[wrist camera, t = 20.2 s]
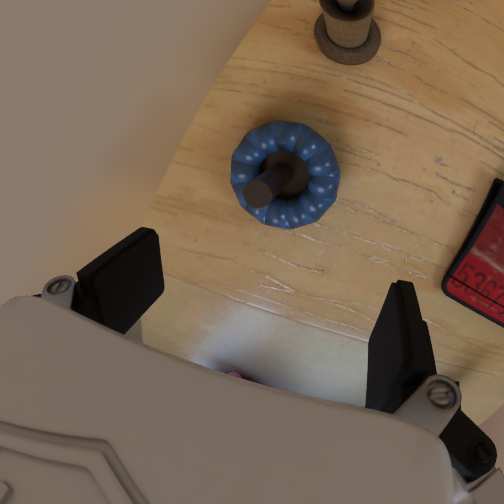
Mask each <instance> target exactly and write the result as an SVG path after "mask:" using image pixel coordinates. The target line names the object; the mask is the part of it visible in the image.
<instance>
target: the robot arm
mask: <svg viewBox="0 0 504 504" xmlns="http://www.w3.org/2000/svg"><path fill="white" fill-rule="evenodd" d="M77 277H78V280H79V281H78V282H75V280H74V278H73V277H71V276H68V275H63V276H58V277H56V278H53V279H51V280H50V281H48V283H46V285H45V287H44V288H43V291H42V294H38V295H33V296H18V297H14V298H12V299H10V300H9V301H7V302H6V303H4V304H3V305H1V306H0V504H504V475H503V473H502V471H501V469H500V467H499V468H498V469H496V468H495V466H494V465H495V462H496V458H497V451H496V447H495V445H494V443H493V442H492V440H491V439H490V438H489V437H488V436H487V435H486V434H485V433H484V432H483V431H482V430H481V429H480V428H479V427H478V426H477V425H476V424H475V423H474V422H473V421H472V420H471V419H469V418H468V417H467V416H466V415H465V414H464V413H463V412H462V411H461V410H460V409H459V406H460V404H461V400H462V395H461V391H460V389H459V387H458V385H457V384H456V383H455V382H454V381H453V380H452V379H451V378H449V377H447V376H444V375H437V371H436V365H435V360H434V354H433V349H432V344H431V340H430V335H429V330H428V326H427V323H426V322H425V321H423V320H422V316H421V312H420V308H419V304H418V300H417V296H416V292H415V288H414V285H413V283H412V282H408V281H403V280H397V282H396V283H392V284H391V286H390V288H389V291H388V294H387V296H386V299H385V302H384V304H383V307H382V309H381V312H380V314H379V317H378V319H377V322H376V324H375V326H374V329H373V331H372V333H371V336H370V339H369V343H368V372H367V391H366V404H365V408H363V407H358V406H354V405H349V404H344V403H338V402H333V401H329V400H324V399H319V398H315V397H311V396H306V395H302V394H298V393H294V392H289V391H285V390H281V389H277V388H273V387H270V386H266V385H262V384H259V383H255V382H252V381H248V380H245V379H242V378H238V377H235V376H232V375H229V374H225V373H222V372H219V371H216V370H213V369H210V368H207V367H204V366H201V365H198V364H196V363H193V362H190V361H187V360H185V359H182V358H179V357H176V356H174V355H171V354H169V353H166V352H163V351H161V350H158V349H156V348H154V347H151V346H149V345H146V344H144V343H141V342H139V341H137V340H134V339H132V338H129V337H127V336H125V335H124V334H125V333H126V332H127V331H128V330H129V329H130V328H131V326H133V324H135V322H136V321H137V320H138V319H139V318H140V317H141V316H142V315H143V314H144V313H145V312H146V311H147V309H148V308H149V307H150V306H151V305H152V304H153V303H154V302H155V301H156V300H157V299H158V298H159V297H160V296H161V294H162V293H163V291H164V278H163V271H162V263H161V254H160V245H159V237H158V234H157V233H156V232H155V230H154V229H150V228H145V227H141V228H139V229H137V230H136V231H135V232H133V233H131V234H130V235H129V236H127V237H126V238H124V239H123V240H121V241H120V242H118V243H117V244H115V245H114V246H113V247H111V248H110V249H108V250H107V251H106V252H104V253H103V254H102V255H100V256H98V257H97V258H96V259H94V260H93V261H92V262H90V263H89V264H87V265H86V266H85V267H83V268H82V269H81V270H79V271H78V272H77Z"/></svg>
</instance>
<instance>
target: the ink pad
mask: <svg viewBox="0 0 504 504" xmlns="http://www.w3.org/2000/svg"><path fill="white" fill-rule="evenodd" d="M441 287H442V291H443V292H444V294H445V295H446V296H448V297H450V298H451V299H453V300H455V301H457V302H458V303H460V304H462V305H463V306H465V307H467V308H469V309H471V310H472V311H474V312H476V313H478V314H480V315H481V316H483V317H485V318H487V319H489V320H491V321H492V322H494V323H496V324H498V325H500V326H501V327H503V328H504V181H502V180H500V179H498V178H496V179H495V180H494V183H493V185H492V187H491V189H490V192H489V194H488V196H487V199H486V201H485V203H484V206H483V208H482V210H481V212H480V214H479V216H478V218H477V220H476V222H475V224H474V226H473V228H472V230H471V232H470V233H469V235H468V237H467V239H466V241H465V243H464V244H463V246H462V248H461V250H460V252H459V253H458V255H457V257H456V258H455V260H454V262H453V264H452V265H451V267H450V269H449V271H448V272H447V274H446V275H445V277H444V279H443V281H442V284H441Z"/></svg>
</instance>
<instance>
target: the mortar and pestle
mask: <svg viewBox="0 0 504 504" xmlns="http://www.w3.org/2000/svg"><path fill="white" fill-rule="evenodd" d="M319 3H320V6H321V9H322V12H323V13H322V14H321V15H320V16H319V18H318V19H317V21H316V23H315V27H314V35H315V39H316V42H317V45H318V47H319V48H320V50H321V51H322V52H323V54H324V55H326V56H327V57H328V58H329V59H331V60H333V61H335V62H337V63H341V64H345V65H358V64H362V63H365V62H367V61H369V60H370V59H372V58H373V57H374V55H375V54H376V53H377V51H378V48H379V46H380V42H381V34H380V30H379V27H378V25H377V24H376V22H375V21H374V20H373V19H372V15H373V11H374V0H319Z"/></svg>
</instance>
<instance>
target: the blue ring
mask: <svg viewBox="0 0 504 504" xmlns="http://www.w3.org/2000/svg"><path fill="white" fill-rule="evenodd" d="M278 150H283V151H290V152H294V153H295V154H296V155H298V156H299V157H300V158H301V159H303V160H304V161H305V163H306V166H307V168H308V171H309V173H310V176H309V183H308V188H307V189H306V190H305V191H304V192H303V193H302V195H301V196H300V197H297V198H294V199H291V200H283V199H278V198H274V199H273V200H272V202H271V203H270V204H269V205H268V206H267V207H265V208H263V209H254V208H252V207H250V206H249V205H248V204H247V203H246V202H245V200H244V198H243V188H244V186H245V185H246V184H247V183H248V182H249V181H251V180H252V179H254V178H255V177H256V176H258V175H259V173H260V164H261V163H262V162H263V160H264V159H265V158H266V156H267V155H268V154H271V153H273V152H275V151H278ZM339 180H340V168H339V165H338V163H337V160H336V157H335V155H334V152H333V150H332V147H331V145H330V144H329V142H328V141H327V140H325V139H324V138H323V137H322V136H320V135H319V134H318V133H317V132H315V131H314V130H313V129H311V128H310V127H309V126H307V125H305V124H302V123H296V122H289V121H281V120H274V121H271V122H268V123H266V124H264V125H261V126H259V127H257V128H255V129H253V130H251V131H249V132H248V133H247V134H246V135H245V136H244V138H243V139H242V141H241V142H240V144H239V145H238V147H237V148H236V150H235V151H234V153H233V155H232V160H231V176H230V182H231V185H232V187H233V190H234V192H235V194H236V196H237V198H238V201H239V203H240V205H241V206H242V208H243V209H245V210H246V211H247V212H248V213H250V214H251V215H252V216H253V217H255V218H256V219H257V220H258V221H260V222H261V223H262V224H265V225H269V226H274V227H279V228H283V229H295V228H298V227H301V226H304V225H308V224H311V223H314V222H316V221H318V220H319V219H320V218H321V216H322V215H323V214H324V213H325V212H326V211H327V210H328V209H329V208H330V207H331V205H332V204H333V203H334V202H335V200H336V197H337V191H338V186H339Z"/></svg>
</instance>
